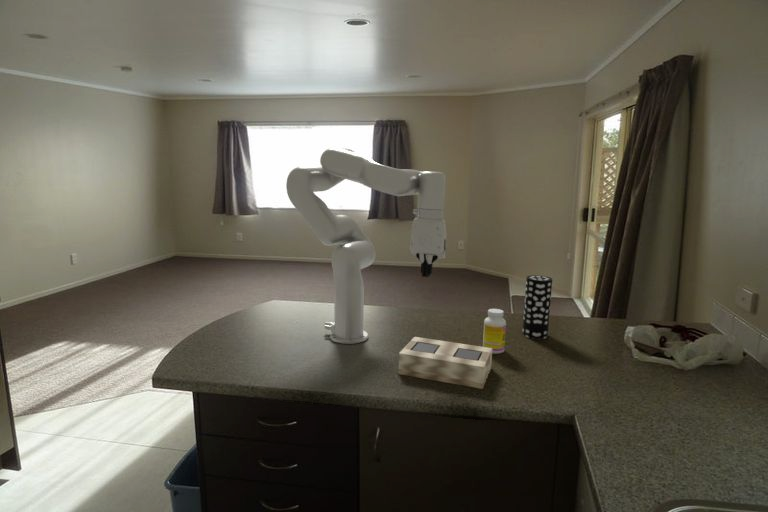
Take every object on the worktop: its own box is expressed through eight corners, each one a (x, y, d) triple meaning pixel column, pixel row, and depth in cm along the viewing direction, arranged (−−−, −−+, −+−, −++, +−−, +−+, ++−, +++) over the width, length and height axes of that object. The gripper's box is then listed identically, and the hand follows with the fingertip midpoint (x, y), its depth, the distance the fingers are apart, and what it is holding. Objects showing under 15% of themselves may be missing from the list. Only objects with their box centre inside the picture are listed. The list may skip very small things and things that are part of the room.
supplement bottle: (504, 355, 145) (507, 314, 143) (482, 353, 147) (484, 313, 144) (503, 347, 152) (506, 308, 149) (482, 345, 153) (484, 307, 151)
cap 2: (453, 370, 129) (454, 356, 128) (458, 362, 135) (459, 348, 134) (476, 374, 127) (476, 360, 126) (480, 365, 133) (480, 352, 132)
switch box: (398, 373, 131) (398, 353, 130) (414, 355, 144) (414, 336, 143) (482, 388, 123) (483, 367, 122) (491, 368, 136) (492, 348, 135)
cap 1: (411, 363, 133) (412, 349, 133) (418, 355, 139) (418, 342, 138) (432, 366, 131) (433, 353, 131) (438, 358, 137) (438, 345, 136)
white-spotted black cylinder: (552, 336, 162) (557, 279, 159) (536, 341, 158) (541, 282, 154) (532, 329, 169) (537, 274, 166) (517, 333, 165) (521, 277, 161)
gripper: (401, 213, 138) (398, 275, 142) (451, 218, 132) (446, 282, 136) (410, 211, 145) (407, 270, 149) (458, 215, 139) (453, 277, 143)
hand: (426, 275), depth 142 cm, fingers closed
